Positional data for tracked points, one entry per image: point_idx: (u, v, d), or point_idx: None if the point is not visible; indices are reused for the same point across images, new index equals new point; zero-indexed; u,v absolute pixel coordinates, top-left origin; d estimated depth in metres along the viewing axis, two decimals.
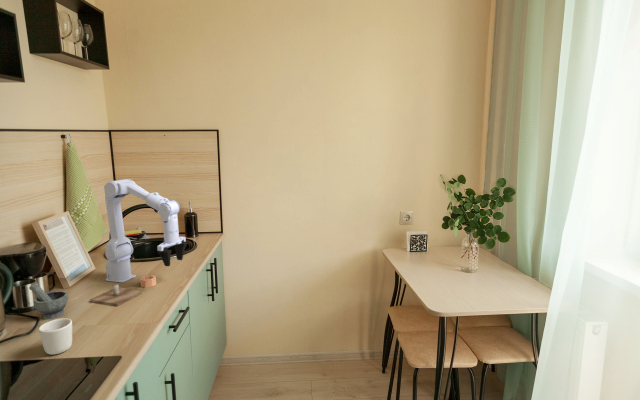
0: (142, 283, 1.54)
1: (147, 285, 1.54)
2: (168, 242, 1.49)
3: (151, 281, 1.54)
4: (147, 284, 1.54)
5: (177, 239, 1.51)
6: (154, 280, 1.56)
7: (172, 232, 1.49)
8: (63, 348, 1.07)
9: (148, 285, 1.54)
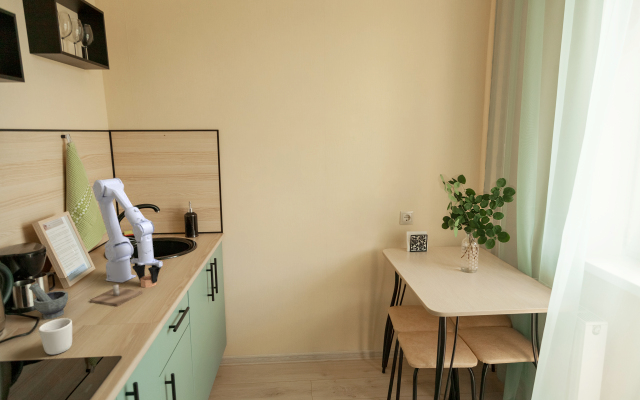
0: (142, 283, 1.54)
1: (147, 285, 1.54)
2: None
3: (151, 281, 1.54)
4: (147, 284, 1.54)
5: (141, 260, 1.52)
6: None
7: (138, 251, 1.53)
8: (63, 348, 1.07)
9: (148, 285, 1.54)
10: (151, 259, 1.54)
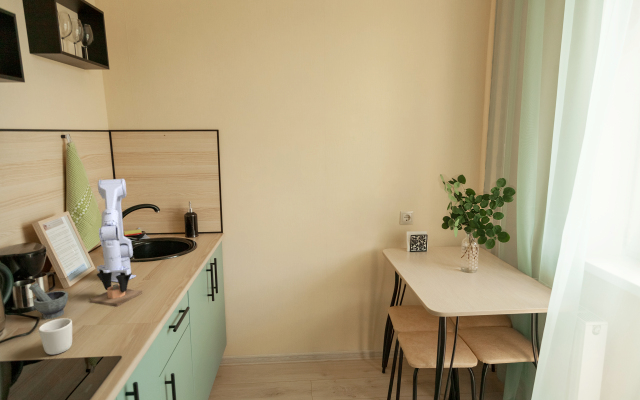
0: (109, 294, 1.41)
1: (114, 296, 1.41)
2: None
3: (119, 291, 1.42)
4: (114, 295, 1.41)
5: (107, 267, 1.40)
6: None
7: None
8: (63, 348, 1.07)
9: (115, 296, 1.42)
10: (118, 266, 1.41)
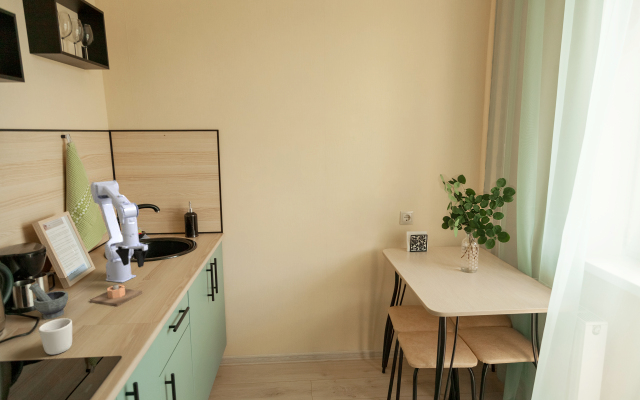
0: (109, 294, 1.41)
1: (114, 296, 1.41)
2: None
3: (119, 291, 1.42)
4: (114, 295, 1.41)
5: (125, 243, 1.48)
6: (122, 290, 1.43)
7: (122, 234, 1.49)
8: (63, 348, 1.07)
9: (115, 296, 1.42)
10: (136, 242, 1.50)
